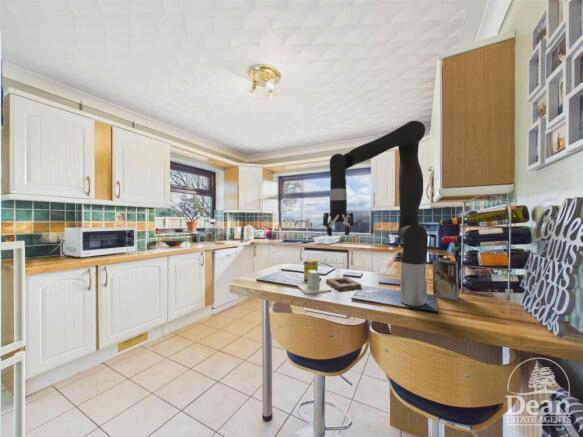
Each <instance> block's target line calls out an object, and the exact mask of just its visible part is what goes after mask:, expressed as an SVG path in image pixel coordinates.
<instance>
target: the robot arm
mask: <svg viewBox="0 0 583 437" xmlns="http://www.w3.org/2000/svg"><path fill="white" fill-rule="evenodd" d="M425 135H426V126H425V125H424V123H423V122H421V121H419V120H410V121H408V122H407V123H404V124H403V125H401V126H399V127H398V128H396V129H395V130H394V129H393V131H390V132H389V133H386V134H385V135H382V136H381V137H378V138H376V139H373V140H371V141H369V142H366V143H362V144H361V145H358V146H356V147H353V148H351V149H350V150H349V151H348V152H346V153H343V154H342V153H339V152H338V153H334V154H333V155H332V156H331V157H330V159H329V173H330V184H329V185H330V187H329V189H330V190H329V212H323V215H322V218H323V219H322V226H324V227H326V234H327V236H328V237H332V235H333V232H332V231H333V228H332V227H333V225H334V224H335V223H342V224H343V225H344V226H345V227H344V236H349V235H350V227H351V226H352V227H353V226H354V212H352V211H351V212H347V210H348V196H347V195H348V194H347V179H346V178H347V177H346V174H347V173H346V170H348V169H350V168H352V167H353V166H355V165H358V164H361V163H363V162H366V161H369V160H371V159H373V158H376V157H378V156H379V155H381V154H383V153H386V152H387V151H389V150H391V149H393V148H396V147H398V154H399V167H398V195H399V198H398V199H399V211H400V212H399V223H398V234H397V235H398V238H399V240H400V242H401V243H402V245H403V247H402V253H401V255H400V260H399V261H400V263H399V264H400V266H399V267H400V270H399V271H400V284H399V286H400V303H402V302H403V303H404V304H403V303H402V304H403V305H405V304H408V305H407V306H409V305H415V306H421V305H424V304H425V303H427V304H428V282H427V280H426V259H427V257H428V246H429V245H428V241H429V240H428V232H427V230H426V229H425V227H423V226H421V225H419V210H420V206H421V203H422V200H423V195H424V175H423V171H422V166H421V164H420V161H419V147H420V145H419V144H420V142H421V141H422V139H423V138H424V136H425ZM329 218H330V219H329ZM425 305H426V304H425ZM425 305H424V306H425Z"/></svg>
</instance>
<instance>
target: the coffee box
mask: <svg viewBox="0 0 583 437" xmlns="http://www.w3.org/2000/svg"><path fill="white" fill-rule="evenodd" d="M432 297H438V298H441V299H442V298H443V299H447V300H451V301H452V300H453V301H457V300H458V299H459V261H454V260H445V259H434V260H433V261H432Z"/></svg>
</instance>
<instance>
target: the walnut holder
mask: <svg viewBox="0 0 583 437" xmlns="http://www.w3.org/2000/svg"><path fill="white" fill-rule="evenodd" d="M325 283H326V284H328V285H329V286H331V287H332V288H334V289H335V290H337V291H339V292H341V291H343V292H344V291H348V290H357V289H358V290H359V289H362V283H360V282H357V281H355V280H353V279H351V278H350V277H348V276H342V277H333V278H325Z"/></svg>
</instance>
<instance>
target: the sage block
mask: <svg viewBox="0 0 583 437" xmlns="http://www.w3.org/2000/svg"><path fill="white" fill-rule="evenodd" d="M320 274H321V273H320V271H319V270H318V271H316V270H308V281H307V284H308V287H310V288H311V289H320V283H321V278H320V277H321V276H320Z"/></svg>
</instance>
